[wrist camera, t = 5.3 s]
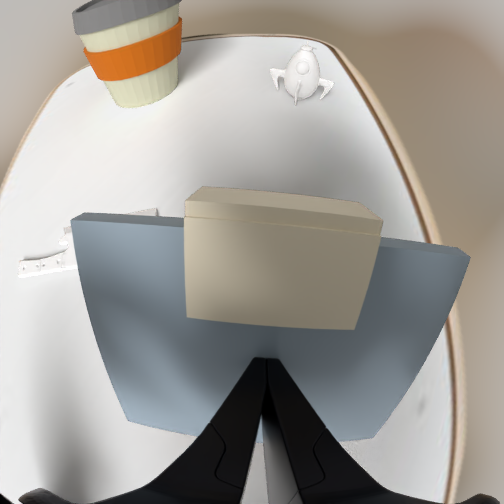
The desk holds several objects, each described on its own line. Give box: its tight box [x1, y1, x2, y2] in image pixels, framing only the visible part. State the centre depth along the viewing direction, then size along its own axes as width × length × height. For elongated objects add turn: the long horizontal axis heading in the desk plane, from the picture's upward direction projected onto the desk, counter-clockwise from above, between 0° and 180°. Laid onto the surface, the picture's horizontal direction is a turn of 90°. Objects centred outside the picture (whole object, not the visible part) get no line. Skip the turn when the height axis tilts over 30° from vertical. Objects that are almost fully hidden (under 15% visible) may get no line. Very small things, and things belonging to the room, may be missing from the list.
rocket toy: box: [270, 42, 334, 106], centre depth 26 cm, size 5×5×8 cm
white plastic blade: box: [18, 208, 157, 278], centre depth 21 cm, size 5×15×1 cm, turn 100°
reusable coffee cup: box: [72, 0, 182, 108], centre depth 23 cm, size 13×13×15 cm
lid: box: [71, 186, 470, 443], centre depth 10 cm, size 11×12×2 cm
